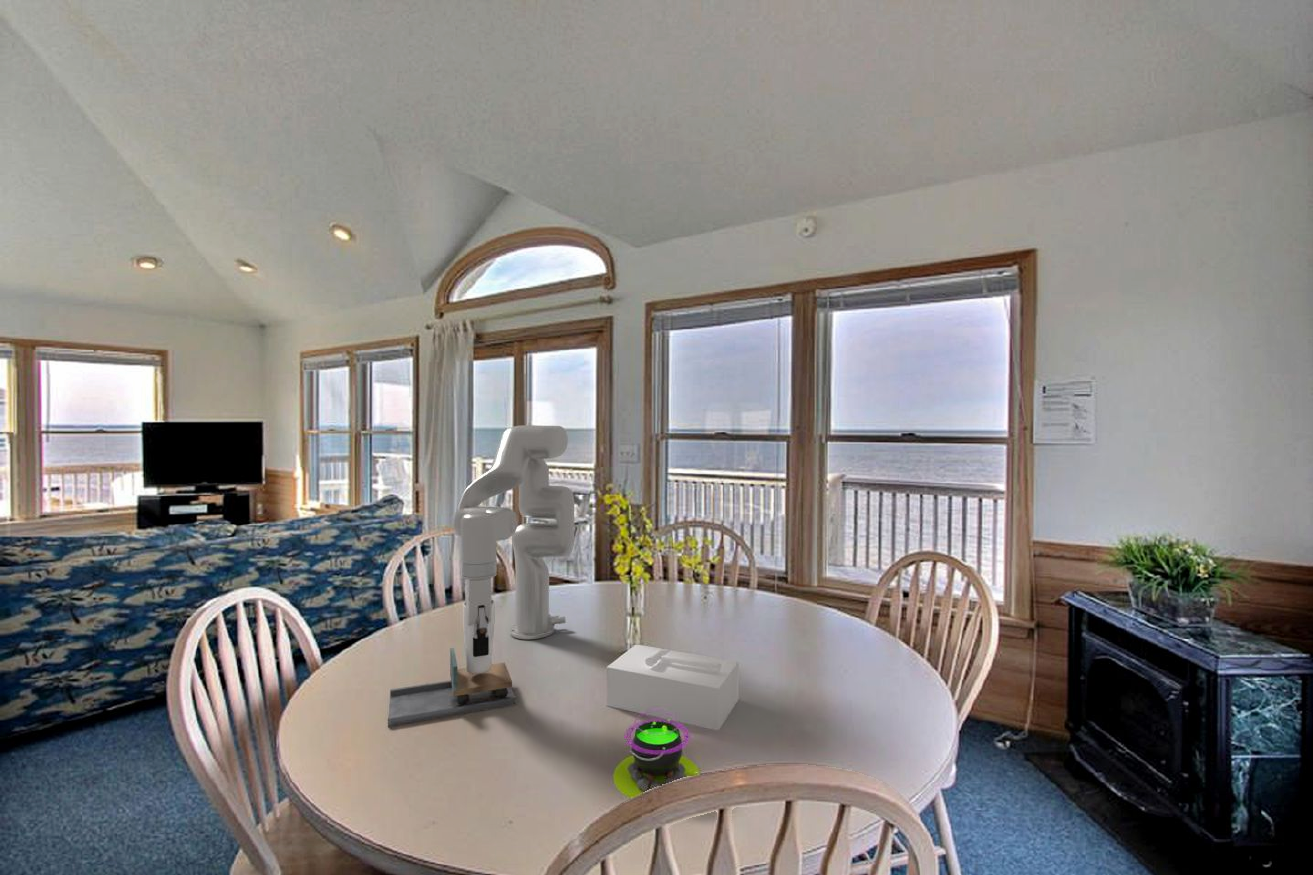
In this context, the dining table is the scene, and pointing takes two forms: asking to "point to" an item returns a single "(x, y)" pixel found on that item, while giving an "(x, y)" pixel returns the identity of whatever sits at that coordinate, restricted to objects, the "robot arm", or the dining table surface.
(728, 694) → the white hammer mold block
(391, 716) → the rail
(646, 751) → the toy cauldron
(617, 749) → the dining table surface
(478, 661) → the drinking glass
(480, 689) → the cart
